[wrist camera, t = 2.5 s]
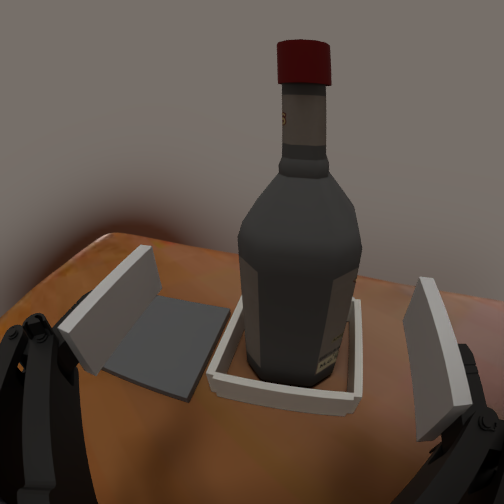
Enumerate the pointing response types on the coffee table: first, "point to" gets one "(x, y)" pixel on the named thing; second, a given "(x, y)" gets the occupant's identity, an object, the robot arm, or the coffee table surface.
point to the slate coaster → (169, 346)
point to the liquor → (299, 237)
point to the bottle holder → (285, 394)
